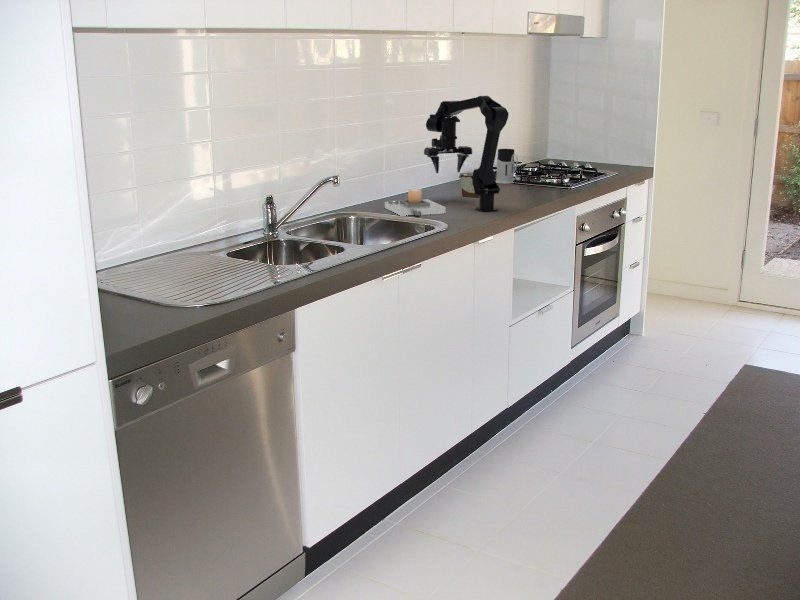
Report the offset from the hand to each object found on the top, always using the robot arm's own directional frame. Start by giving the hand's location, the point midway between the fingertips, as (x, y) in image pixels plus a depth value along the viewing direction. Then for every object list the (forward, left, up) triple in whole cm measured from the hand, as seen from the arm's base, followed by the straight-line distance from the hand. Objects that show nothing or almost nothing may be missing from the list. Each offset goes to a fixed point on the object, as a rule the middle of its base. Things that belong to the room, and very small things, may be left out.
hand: (447, 172), depth 353 cm
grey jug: (+39, -47, -12) cm, 62 cm away
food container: (+8, -16, -12) cm, 22 cm away
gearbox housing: (-14, +19, -12) cm, 27 cm away
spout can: (-13, +19, -12) cm, 26 cm away
